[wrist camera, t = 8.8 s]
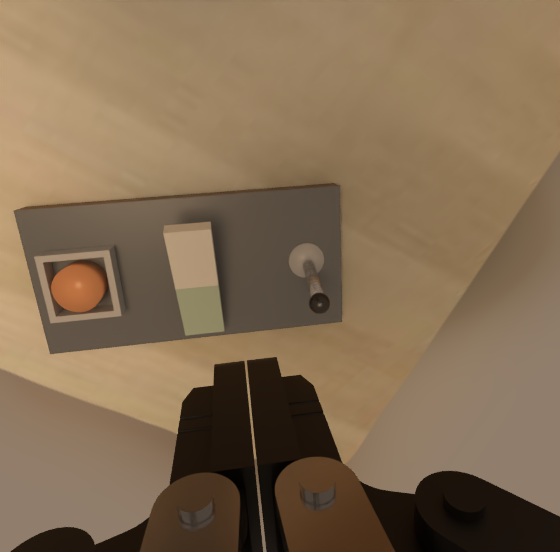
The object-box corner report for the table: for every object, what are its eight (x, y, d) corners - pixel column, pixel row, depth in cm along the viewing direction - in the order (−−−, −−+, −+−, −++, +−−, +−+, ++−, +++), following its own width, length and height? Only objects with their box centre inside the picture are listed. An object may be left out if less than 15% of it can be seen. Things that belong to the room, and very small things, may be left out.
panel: (25, 206, 34) (3, 214, 30) (333, 183, 36) (345, 187, 33) (58, 343, 37) (42, 363, 34) (336, 313, 40) (347, 329, 36)
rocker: (164, 225, 29) (163, 233, 29) (210, 221, 30) (210, 229, 29) (185, 327, 36) (185, 335, 35) (223, 322, 36) (224, 331, 35)
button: (56, 262, 33) (46, 269, 31) (103, 258, 34) (96, 264, 32) (66, 305, 34) (57, 314, 32) (112, 300, 35) (105, 309, 33)
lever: (298, 255, 35) (311, 304, 31) (317, 253, 35) (333, 302, 31) (297, 270, 36) (310, 319, 32) (316, 268, 36) (331, 317, 32)
